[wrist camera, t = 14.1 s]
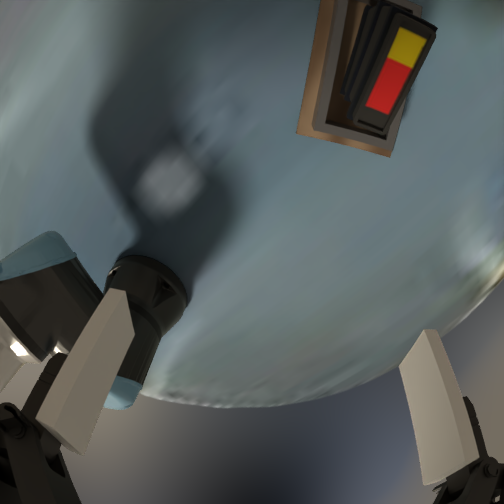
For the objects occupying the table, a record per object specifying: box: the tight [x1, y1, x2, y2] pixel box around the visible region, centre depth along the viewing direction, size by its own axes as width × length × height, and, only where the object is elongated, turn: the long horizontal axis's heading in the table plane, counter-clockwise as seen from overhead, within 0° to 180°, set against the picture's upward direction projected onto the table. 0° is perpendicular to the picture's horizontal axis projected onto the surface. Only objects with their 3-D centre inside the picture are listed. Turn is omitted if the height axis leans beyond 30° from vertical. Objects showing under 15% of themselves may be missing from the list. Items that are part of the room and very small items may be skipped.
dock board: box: [296, 0, 392, 158], centre depth 28 cm, size 12×21×1 cm, turn 172°
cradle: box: [311, 0, 422, 151], centre depth 26 cm, size 9×18×4 cm, turn 172°
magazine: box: [339, 0, 438, 135], centre depth 22 cm, size 4×13×15 cm, turn 167°
